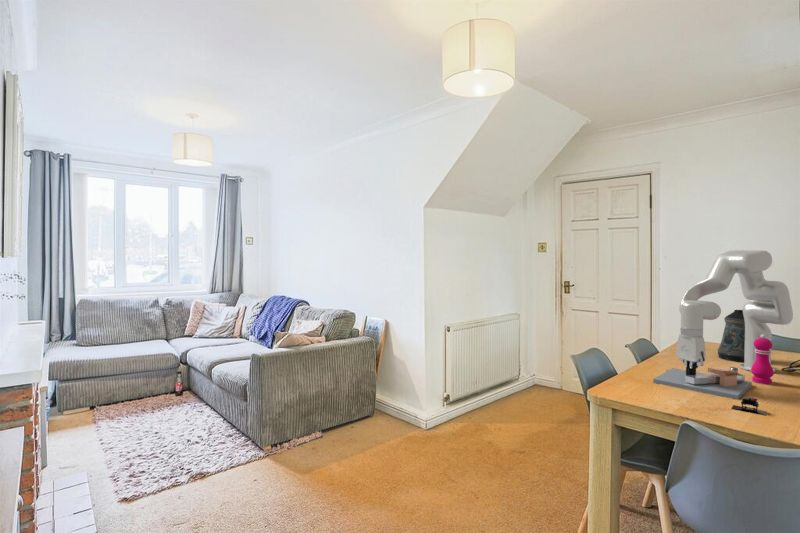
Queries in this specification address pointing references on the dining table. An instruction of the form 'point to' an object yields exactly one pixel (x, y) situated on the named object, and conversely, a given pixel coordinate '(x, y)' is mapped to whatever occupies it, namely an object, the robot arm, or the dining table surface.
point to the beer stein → (733, 338)
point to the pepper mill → (762, 361)
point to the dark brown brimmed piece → (747, 409)
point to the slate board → (678, 380)
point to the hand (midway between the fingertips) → (690, 377)
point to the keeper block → (725, 376)
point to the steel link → (711, 378)
